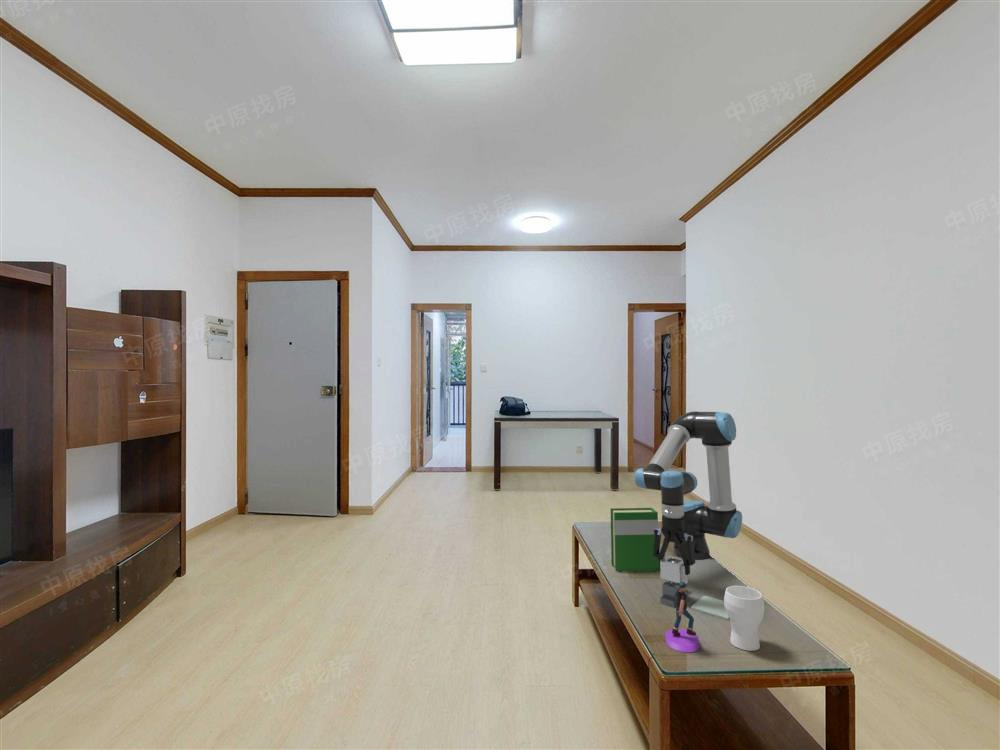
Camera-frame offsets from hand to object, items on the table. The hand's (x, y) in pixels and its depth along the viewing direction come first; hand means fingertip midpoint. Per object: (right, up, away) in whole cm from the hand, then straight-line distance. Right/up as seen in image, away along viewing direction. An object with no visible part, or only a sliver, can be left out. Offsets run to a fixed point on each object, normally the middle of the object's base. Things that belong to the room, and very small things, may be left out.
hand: (674, 580), depth 171 cm
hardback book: (-6, -8, +29) cm, 31 cm away
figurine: (-8, -6, -29) cm, 31 cm away
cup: (+10, -6, -30) cm, 32 cm away
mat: (+11, -6, -7) cm, 15 cm away
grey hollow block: (0, +1, 0) cm, 1 cm away
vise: (+1, -7, +1) cm, 7 cm away
